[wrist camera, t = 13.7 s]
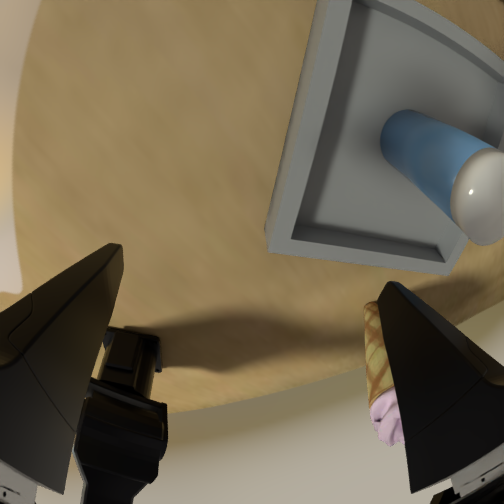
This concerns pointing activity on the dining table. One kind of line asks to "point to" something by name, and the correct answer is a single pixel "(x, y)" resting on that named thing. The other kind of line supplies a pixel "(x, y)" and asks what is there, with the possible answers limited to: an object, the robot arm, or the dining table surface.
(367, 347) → the ice cream cone
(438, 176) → the cylinder
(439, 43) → the tray
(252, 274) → the dining table surface
